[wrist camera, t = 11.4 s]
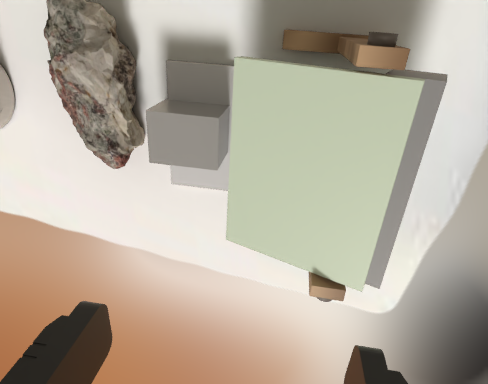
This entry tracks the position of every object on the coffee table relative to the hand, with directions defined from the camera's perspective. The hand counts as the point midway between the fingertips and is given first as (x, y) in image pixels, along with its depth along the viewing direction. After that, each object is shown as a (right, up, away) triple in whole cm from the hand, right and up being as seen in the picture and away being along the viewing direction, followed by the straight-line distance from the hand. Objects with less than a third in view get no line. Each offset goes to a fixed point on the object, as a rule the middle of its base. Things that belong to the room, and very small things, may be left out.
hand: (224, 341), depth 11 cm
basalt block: (-1, +10, +19) cm, 21 cm away
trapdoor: (+7, +7, +15) cm, 18 cm away
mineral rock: (-12, +16, +21) cm, 29 cm away
